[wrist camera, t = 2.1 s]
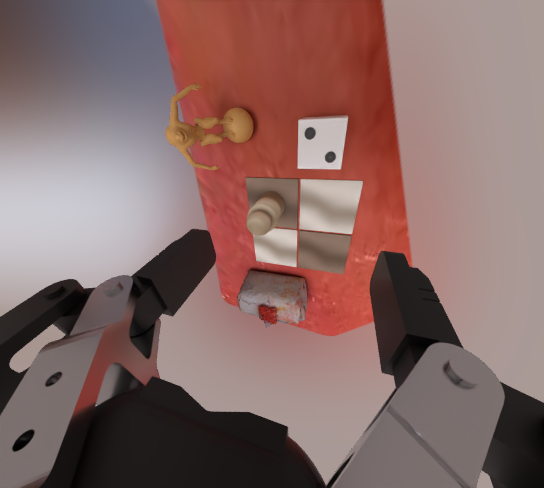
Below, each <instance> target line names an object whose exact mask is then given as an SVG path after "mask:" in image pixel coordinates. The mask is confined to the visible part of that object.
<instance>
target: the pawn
mask: <svg viewBox="0 0 544 488" xmlns="http://www.w3.org/2000/svg"><path fill="white" fill-rule="evenodd" d="M284 209H285V202H284V199H283V198H282V196H281V195H279V194H278V193H276V192H266V193H264V194H263V195H262V196H261V198H260V199H259V200H258V201H257V202H256V203H255V204H254V206H253V207H252V208H251V209H250V210H249V212H248V218H247V228H248V230H249V231H250V232H251V233H252V234H254V235H257V236H262V235H265V234H266V233H268V232H269V231H271V230H273V229H274V227H275V226H276V224H277V222H278V220H279V218H280V216H281V215H282V213H283V211H284Z"/></svg>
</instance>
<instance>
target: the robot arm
mask: <svg viewBox="0 0 544 488" xmlns="http://www.w3.org/2000/svg"><path fill="white" fill-rule="evenodd" d="M215 261H216V253H215V250H214V246H213V243H212V239H211V236H210V233H209V232H208V231H207V230H199V229H191V230H190V231H189V232H188V233H187V234H185V235H184V236H183V237H182V238H180V239H178V240H176V241H174V242H173V243H171V244H170V245H169V246H168V247H167V248H165V250H163V251H162V252H160V253H159V255H157V256H156V257H154V258H153V259H152V260H151V261H149V262H148V263H147V264H146V265H145V266H143V267H142V268H141V269H140V270H138V271H137V272H136V273H135V274H134V275H132V276H127V275H122V276H117V277H113V278H111V279H109V280H107V281H105V282H103V283H102V284H100V285H99V286H97V287H96V288H86V289H84V288H83V287H82V286H81V285H80V284H79V282H78V281H76V280H74V279H68V280H63V281H60V282H57V283H54V284H52V285H50V286H48V287H46V288H44V289H43V290H41V291H39V292H38V293H36V294H35V295H33V296H32V297H31V298H29V299H27V300H26V301H24V302H23V303H21V304H19V305H18V306H16V307H15V308H14V309H12V310H10V311H9V312H7V313H6V314H4V315H3V316H1V317H0V488H476V486H477V482H478V478H479V476H480V473H481V470H482V471H484V472H485V473H487V474H488V475H489V476H490V479H491V481H492V485H493V487H494V488H544V403H543V402H541V401H539V400H537V399H534V398H532V397H530V396H528V395H526V394H524V393H522V392H520V391H518V390H515V389H513V388H511V387H509V386H507V385H506V384H504V383H501V382H500V381H499V380H498V378H497V377H496V375H495V374H494V373H493V371H492V370H491V369H490V368H489V367H488V366H487V365H486V364H485V363H484V362H482V361H481V360H480V359H479V358H478V357H476V356H475V355H473V354H472V353H470V352H468V351H467V350H465V349H464V348H463V346H462V345H461V343H460V341H459V339H458V336H457V335H456V332H455V330H454V328H453V326H452V324H451V323H450V320H449V318H448V316H447V314H446V312H445V310H444V308H443V306H442V304H441V303H440V300H439V298H438V296H437V294H436V293H435V292H434V288H433V286H432V284H431V282H430V280H429V278H427V277H426V276H425V275H424V274H423V273H422V272H421V271H420V270H419V269H418V268H412V267H409V265H408V262H407V260H406V257H405V255H404V254H403V253H396V252H387V251H381V252H380V254H379V256H378V259H377V262H376V265H375V268H374V271H373V274H372V277H371V281H370V296H371V303H372V309H373V316H374V323H375V329H376V336H377V343H378V350H379V357H380V364H381V370H382V373H385V374H389V375H393V376H394V380H395V385H396V388H395V389H394V391H393V392H392V393H391V395H390V396H389V398H388V399H387V401H386V402H385V403H384V405H383V406H382V408H381V409H380V410H379V412H378V413H377V415H376V416H375V418H374V419H373V420H372V422H371V423H370V424H369V426H368V427H367V429H366V430H365V432H364V433H363V434H362V436H361V437H360V438H359V440H358V441H357V442H356V444H355V445H354V447H353V448H352V449H351V450H350V452H349V453H348V455H347V456H346V457H345V459H344V460H343V462H342V463H341V464H340V466H339V467H338V469H337V470H336V471H335V473H334V474H333V476H332V477H331V479H330V480H329V481H328V483H327V484H326V485H325V483H324V481H323V478H322V477H321V475H320V473H319V472H318V470H317V468H316V467H315V465H314V464H313V462H312V461H311V459H310V458H309V457H308V455H307V454H306V453H305V452H304V451H303V450H302V448H301V447H300V446H299V445H298V444H297V443H296V442H295V441H293V440H292V439H291V438H290V437H289V436H288V427H287V426H284V425H282V424H279V423H277V422H274V421H271V420H268V419H266V418H263V417H261V416H258V415H255V414H253V413H250V412H211V411H207V410H205V409H204V408H203V407H202V406H201V405H200V404H199V403H198V402H197V401H196V400H194V399H193V398H192V397H191V396H190V395H189V394H188V393H187V392H186V391H185V390H184V389H183V388H182V387H180V386H178V385H175V384H172V383H170V382H167V381H165V380H162V379H160V377H159V372H158V369H157V363H156V361H157V351H158V343H159V333H160V325H161V321H160V319H159V317H160V316H161V315H162V314H166V315H170V316H174V314H175V313H176V312H177V311H178V309H179V308H180V307H181V306H182V304H183V303H184V302H185V301H186V299H187V298H188V297H189V295H190V294H191V293H192V292H193V291H194V289H195V288H196V287H197V285H198V284H199V283H200V282H201V280H202V279H203V278H204V277H205V275H206V274H207V273H208V272H209V270H210V269H211V268H212V267H213V265H214V263H215ZM52 324H53V325H55V326H56V327H57V328H58V329H60V330H61V331H62V332H63V333H65V334H66V335H65V336H64V337H63V338H62V339H60V340H56V341H53V342H50V343H48V344H47V345H45V346H44V347H43V348H42V349H41V350H40V352H39V353H38V355H37V357H36V358H35V360H34V361H33V363H32V364H31V366H30V367H29V368H28V369H26V370H25V371H23V372H20V373H18V372H16V371H14V370H12V369H11V368H10V366H9V363H10V360H11V358H12V357H13V355H14V354H15V353H17V352H18V351H19V350H20V349H22V348H23V347H24V346H25V345H26V344H28V343H29V342H30V341H32V340H33V339H34V338H35V337H37V336H38V335H39V334H40V333H42V332H43V331H44V330H45V329H47V327H49V326H50V325H52ZM95 405H97V406H96V407H95Z"/></svg>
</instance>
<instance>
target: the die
mask: <svg viewBox="0 0 544 488" xmlns="http://www.w3.org/2000/svg"><path fill="white" fill-rule="evenodd" d="M347 122H348V116H347V115H340V116H322V117H305V118H302V119H300V120H299V121H298V169H341V164H342V157H343V150H344V143H345V136H346V129H347Z"/></svg>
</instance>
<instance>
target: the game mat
mask: <svg viewBox="0 0 544 488" xmlns="http://www.w3.org/2000/svg"><path fill="white" fill-rule="evenodd" d="M245 179H246V186H247V194H248V201H249V209H251V208H252V207H253V206H254V204H255V203H256V202H257V201H258V200H259V199H260V198H261V196H262V195H263V194H264V193H266V192H276V193H278V194H279V195H281V196H282V198H283V199H284V202H285V209H284V211H283V213H282V215H281V216H280V218H279V220H278V222H277V224H276V226H275V227H285V228H295V229H297V223H298V179H289V178H254V177H245ZM362 185H363V181H357V180H323V179H301V193H300V227H299V229H306V230H316V231H326V232H336V233H346V234H352V231H353V227H354V222H355V217H356V213H357V208H358V203H359V199H360V194H361V189H362ZM253 238H254V246H255V253H256V260H257V261H260V262H267V263H273V264H280V265H286V266H293V267H297V230H292V229H282V228H274V229H273V230H271V231H269V232H268V233H266V234H265V235H262V236H257V235H254V234H253ZM350 241H351V235H342V234H332V233H322V232H312V231H302V230H300V231H299V262H298V267H300V268H306V269H313V270H320V271H326V272H333V273H340V274H343V273H344V269H345V264H346V259H347V255H348V250H349V245H350Z"/></svg>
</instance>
